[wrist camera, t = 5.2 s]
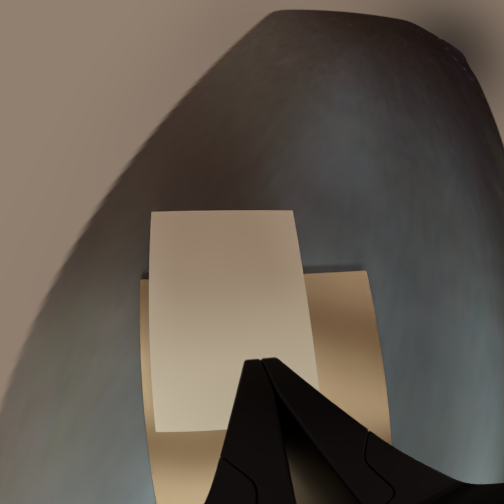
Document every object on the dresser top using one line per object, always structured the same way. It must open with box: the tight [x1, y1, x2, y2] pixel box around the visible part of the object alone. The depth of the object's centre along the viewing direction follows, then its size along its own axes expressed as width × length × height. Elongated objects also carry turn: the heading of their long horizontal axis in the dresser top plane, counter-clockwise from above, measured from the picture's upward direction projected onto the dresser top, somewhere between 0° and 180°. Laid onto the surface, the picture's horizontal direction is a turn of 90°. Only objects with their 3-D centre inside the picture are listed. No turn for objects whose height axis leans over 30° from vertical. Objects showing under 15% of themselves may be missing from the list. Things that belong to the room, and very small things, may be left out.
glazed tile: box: [149, 210, 319, 432], centre depth 14 cm, size 2×7×10 cm
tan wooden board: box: [140, 271, 392, 504], centre depth 13 cm, size 18×12×1 cm
